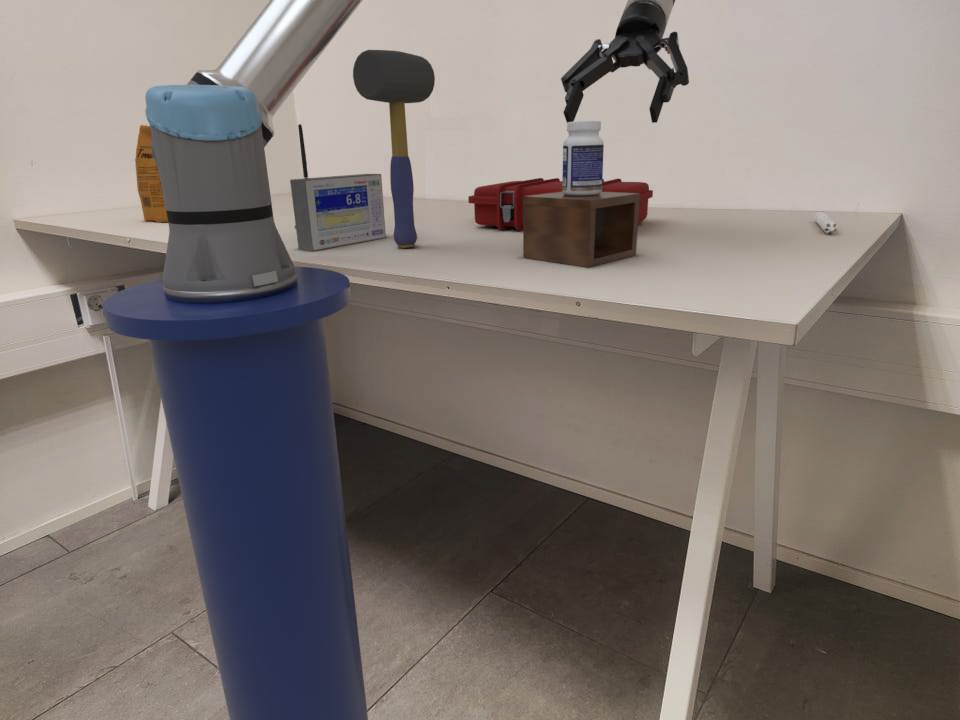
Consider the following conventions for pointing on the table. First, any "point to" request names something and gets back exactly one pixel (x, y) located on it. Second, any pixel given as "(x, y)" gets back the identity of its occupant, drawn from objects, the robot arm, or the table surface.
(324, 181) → the electronic device
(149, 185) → the coffee package
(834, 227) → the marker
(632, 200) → the shelf
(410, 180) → the rubber mallet
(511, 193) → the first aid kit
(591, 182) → the pill bottle
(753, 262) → the table surface
